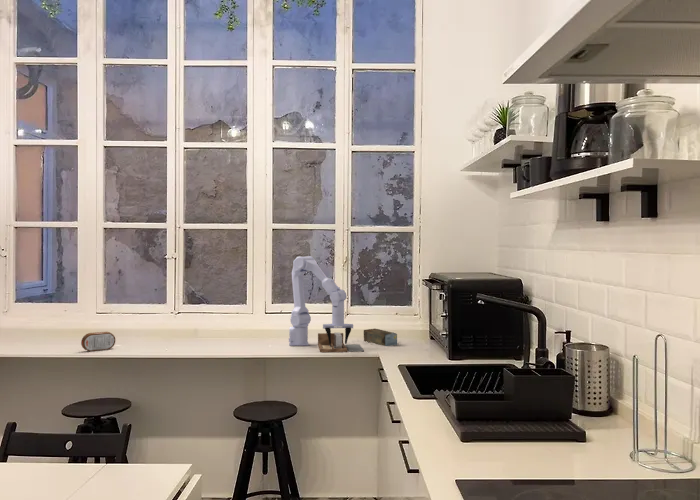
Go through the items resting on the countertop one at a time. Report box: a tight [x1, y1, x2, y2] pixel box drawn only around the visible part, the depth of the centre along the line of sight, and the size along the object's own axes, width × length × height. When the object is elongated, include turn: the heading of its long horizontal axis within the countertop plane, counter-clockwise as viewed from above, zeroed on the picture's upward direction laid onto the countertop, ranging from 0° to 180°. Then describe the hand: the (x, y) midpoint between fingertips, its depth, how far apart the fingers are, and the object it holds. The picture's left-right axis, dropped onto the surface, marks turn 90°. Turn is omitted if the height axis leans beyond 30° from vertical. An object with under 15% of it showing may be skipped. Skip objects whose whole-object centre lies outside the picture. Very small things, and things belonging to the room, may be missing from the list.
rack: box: [317, 332, 348, 353], centre depth 286 cm, size 12×19×6 cm, turn 6°
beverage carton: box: [363, 328, 398, 347], centre depth 304 cm, size 8×19×7 cm, turn 34°
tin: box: [80, 331, 116, 352], centre depth 278 cm, size 15×3×8 cm, turn 132°
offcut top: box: [322, 345, 332, 349], centre depth 286 cm, size 4×13×1 cm, turn 7°
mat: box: [344, 343, 365, 353], centre depth 287 cm, size 7×18×1 cm, turn 6°
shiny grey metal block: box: [333, 332, 343, 349], centre depth 286 cm, size 3×11×7 cm, turn 6°
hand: (337, 343), depth 286 cm, fingers open, 7 cm apart
